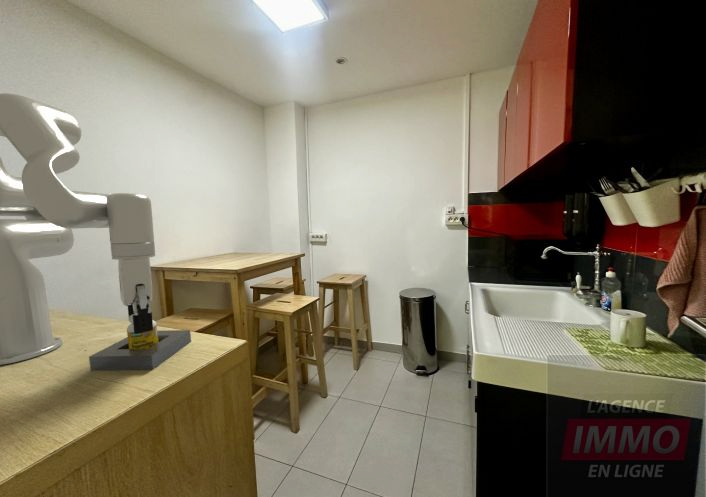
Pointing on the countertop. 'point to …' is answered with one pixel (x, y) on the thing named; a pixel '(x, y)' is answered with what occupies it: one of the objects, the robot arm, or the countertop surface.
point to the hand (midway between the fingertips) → (140, 325)
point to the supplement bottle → (141, 337)
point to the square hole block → (140, 353)
